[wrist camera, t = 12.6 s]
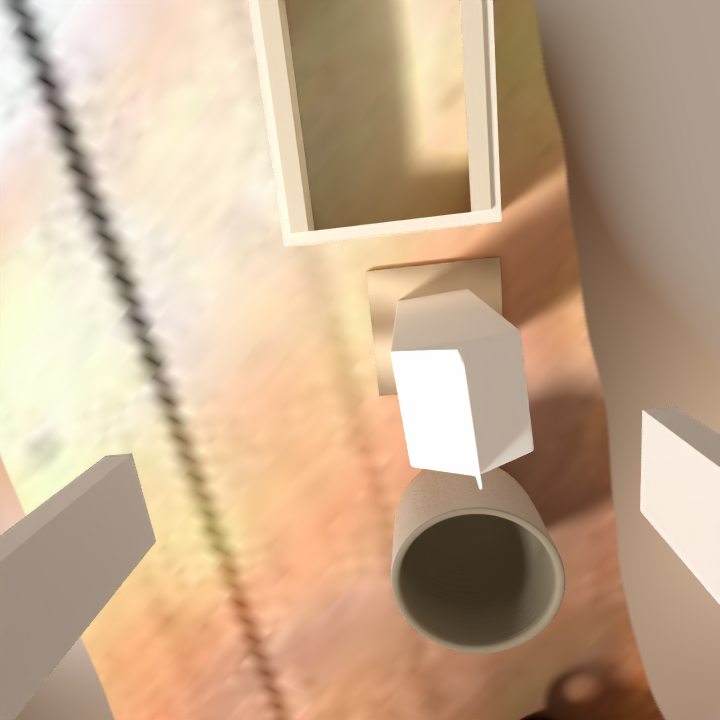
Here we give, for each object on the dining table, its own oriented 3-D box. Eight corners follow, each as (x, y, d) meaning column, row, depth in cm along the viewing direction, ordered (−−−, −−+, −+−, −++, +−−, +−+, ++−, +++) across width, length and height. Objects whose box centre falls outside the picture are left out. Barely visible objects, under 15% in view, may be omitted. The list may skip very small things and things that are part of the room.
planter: (455, 416, 43) (471, 473, 32) (556, 499, 44) (603, 581, 33) (367, 506, 46) (356, 586, 35) (464, 582, 47) (481, 681, 37)
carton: (271, -21, 36) (232, -98, 28) (468, -58, 34) (488, -151, 26) (307, 245, 40) (282, 246, 32) (482, 224, 39) (502, 221, 31)
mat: (366, 271, 40) (366, 271, 40) (498, 256, 39) (500, 257, 39) (379, 393, 43) (379, 395, 42) (504, 384, 42) (505, 386, 41)
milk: (408, 367, 42) (408, 504, 20) (396, 299, 40) (382, 369, 19) (479, 356, 41) (554, 487, 19) (469, 286, 39) (539, 345, 18)
